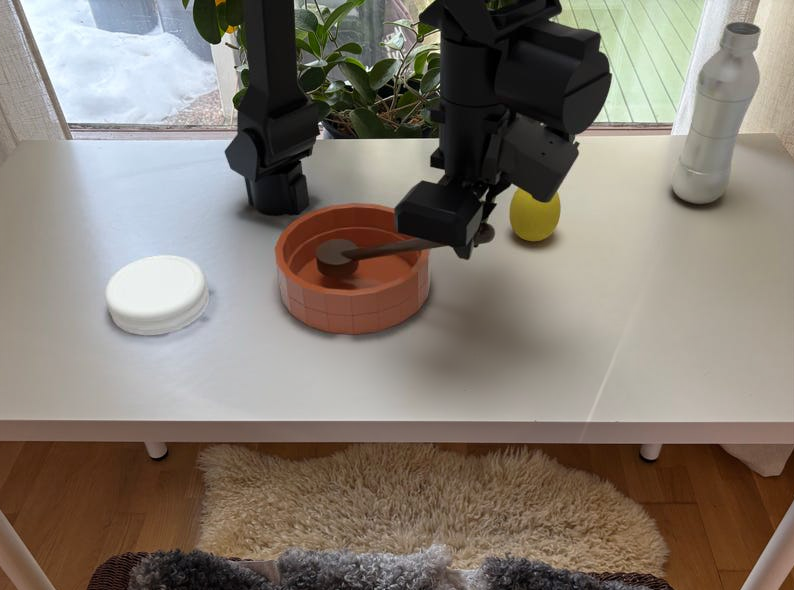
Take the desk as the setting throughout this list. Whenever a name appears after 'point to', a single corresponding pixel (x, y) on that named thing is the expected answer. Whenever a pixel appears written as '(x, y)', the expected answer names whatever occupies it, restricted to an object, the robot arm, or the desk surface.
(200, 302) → the white round lid
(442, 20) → the robot arm
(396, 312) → the bowl
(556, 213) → the lemon
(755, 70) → the plastic bottle
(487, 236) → the brown utensil
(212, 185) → the desk surface
